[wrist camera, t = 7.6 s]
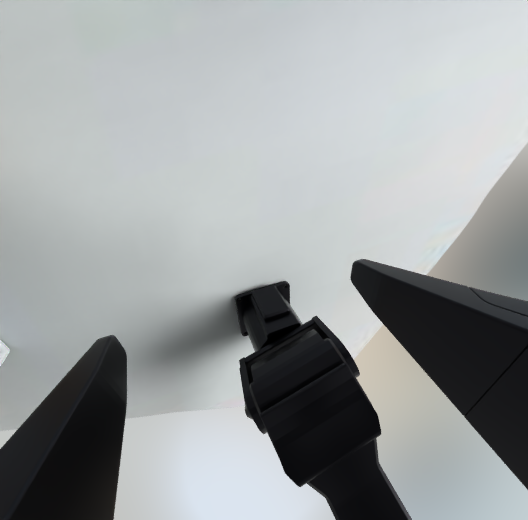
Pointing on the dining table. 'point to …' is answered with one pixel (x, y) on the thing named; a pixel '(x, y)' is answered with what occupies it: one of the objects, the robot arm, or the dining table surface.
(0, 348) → the syrup box
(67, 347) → the dining table surface
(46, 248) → the dining table surface
